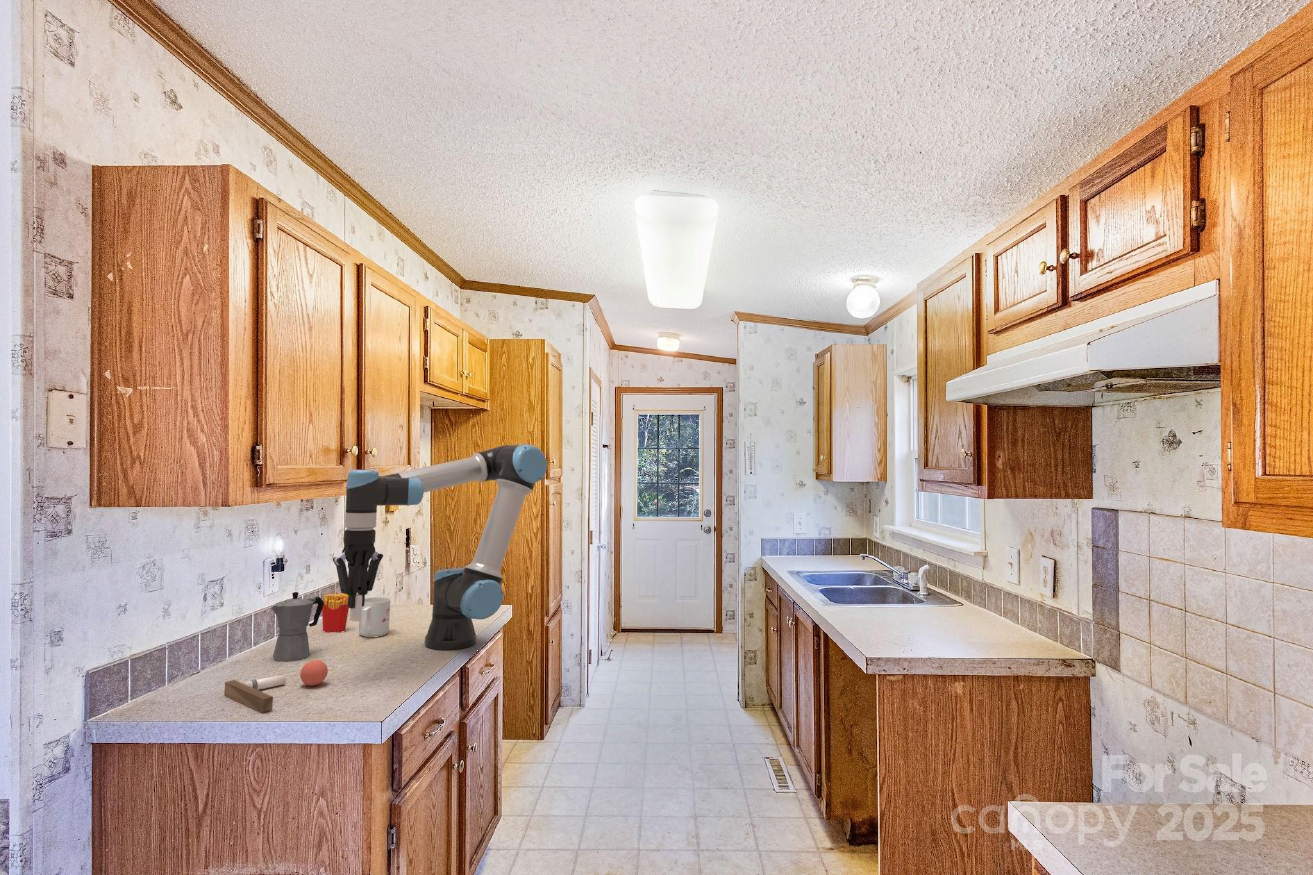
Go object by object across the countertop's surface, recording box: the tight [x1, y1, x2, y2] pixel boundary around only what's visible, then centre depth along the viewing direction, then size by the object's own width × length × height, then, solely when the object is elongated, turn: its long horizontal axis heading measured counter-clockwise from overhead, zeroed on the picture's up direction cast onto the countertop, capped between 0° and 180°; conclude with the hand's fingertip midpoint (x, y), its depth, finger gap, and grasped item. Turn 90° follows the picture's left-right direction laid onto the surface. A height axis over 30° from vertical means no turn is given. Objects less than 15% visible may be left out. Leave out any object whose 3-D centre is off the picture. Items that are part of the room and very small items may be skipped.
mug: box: [358, 596, 391, 638], centre depth 206 cm, size 12×9×11 cm
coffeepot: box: [270, 591, 324, 662], centre depth 183 cm, size 15×9×18 cm, turn 151°
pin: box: [243, 673, 287, 691], centre depth 155 cm, size 2×2×8 cm
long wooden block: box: [223, 679, 274, 714], centre depth 146 cm, size 2×18×3 cm, turn 56°
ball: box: [299, 659, 329, 687], centre depth 159 cm, size 6×6×6 cm
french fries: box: [321, 592, 350, 633], centre depth 211 cm, size 8×4×12 cm, turn 93°
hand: (355, 620), depth 168 cm, fingers closed
